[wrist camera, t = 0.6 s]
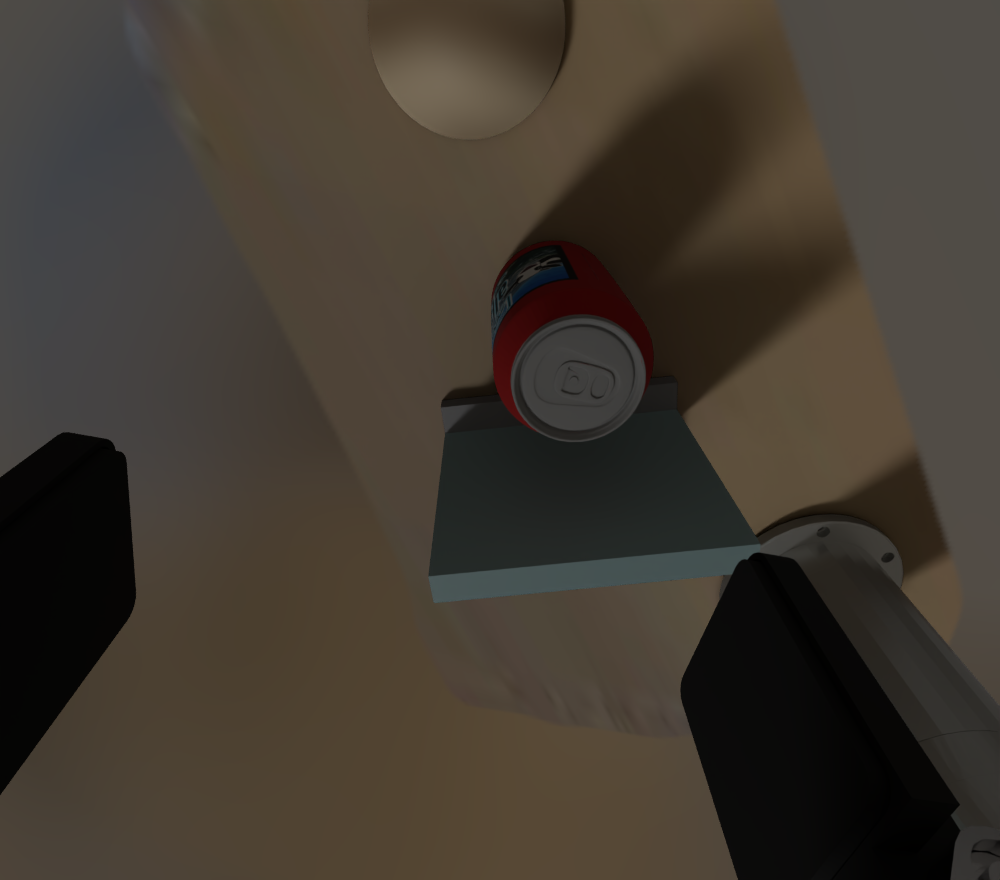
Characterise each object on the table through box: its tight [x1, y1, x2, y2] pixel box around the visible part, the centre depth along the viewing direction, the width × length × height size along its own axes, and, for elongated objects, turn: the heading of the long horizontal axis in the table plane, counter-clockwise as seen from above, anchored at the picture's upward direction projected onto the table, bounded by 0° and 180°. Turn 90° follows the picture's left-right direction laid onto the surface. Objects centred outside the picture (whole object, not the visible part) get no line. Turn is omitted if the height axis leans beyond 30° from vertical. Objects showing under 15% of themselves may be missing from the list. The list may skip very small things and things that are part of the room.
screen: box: [428, 376, 761, 603], centre depth 33 cm, size 5×14×14 cm, turn 96°
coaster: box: [368, 0, 565, 140], centre depth 29 cm, size 9×9×1 cm
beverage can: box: [491, 241, 654, 442], centre depth 30 cm, size 7×7×12 cm
